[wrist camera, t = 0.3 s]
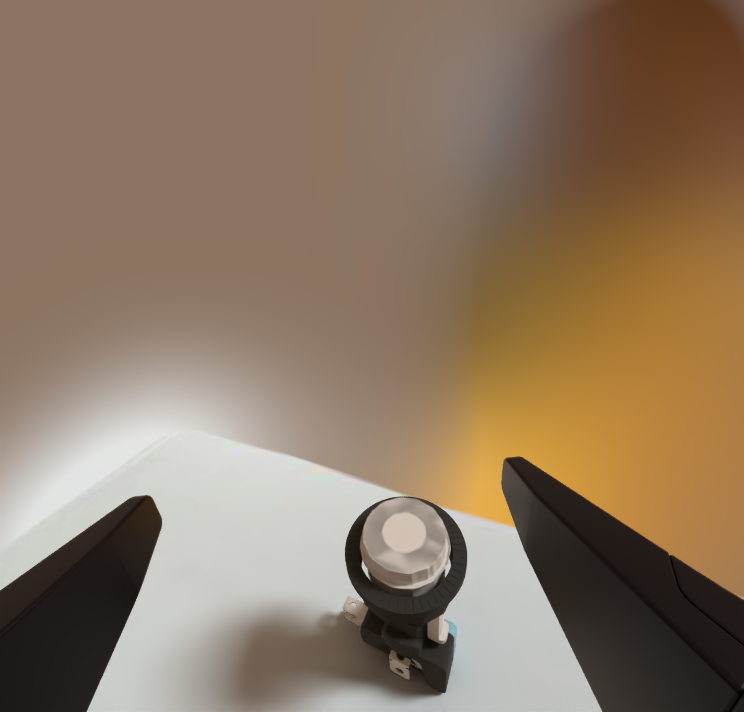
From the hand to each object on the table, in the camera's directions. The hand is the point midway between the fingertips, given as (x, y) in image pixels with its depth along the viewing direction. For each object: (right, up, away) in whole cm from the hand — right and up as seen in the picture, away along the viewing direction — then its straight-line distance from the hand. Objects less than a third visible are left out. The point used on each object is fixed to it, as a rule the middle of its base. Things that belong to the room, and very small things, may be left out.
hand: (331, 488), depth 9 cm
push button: (+3, -13, +11) cm, 17 cm away
